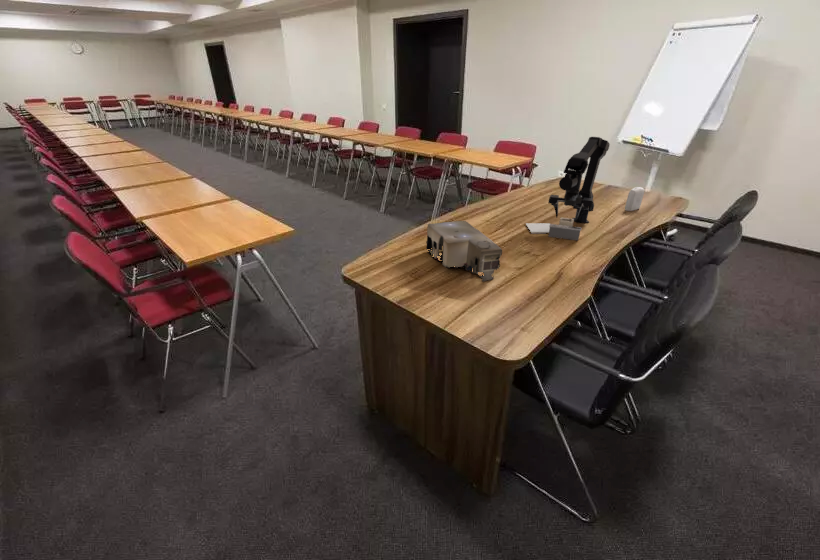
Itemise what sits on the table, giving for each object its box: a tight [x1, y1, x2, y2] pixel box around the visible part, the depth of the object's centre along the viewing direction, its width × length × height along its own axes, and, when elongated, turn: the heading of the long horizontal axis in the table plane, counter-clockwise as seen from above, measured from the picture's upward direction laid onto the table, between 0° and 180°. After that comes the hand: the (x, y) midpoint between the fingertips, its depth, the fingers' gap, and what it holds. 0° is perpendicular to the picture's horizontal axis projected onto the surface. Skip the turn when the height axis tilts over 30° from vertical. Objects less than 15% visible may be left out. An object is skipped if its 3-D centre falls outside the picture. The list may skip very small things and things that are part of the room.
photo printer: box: [624, 186, 645, 212], centre depth 209 cm, size 10×4×12 cm, turn 123°
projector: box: [425, 220, 503, 282], centre depth 149 cm, size 18×33×13 cm, turn 16°
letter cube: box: [558, 217, 575, 226], centre depth 181 cm, size 6×6×6 cm
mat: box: [525, 222, 551, 234], centre depth 186 cm, size 12×12×1 cm
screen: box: [548, 223, 582, 241], centre depth 174 cm, size 3×14×6 cm, turn 67°
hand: (567, 218), depth 179 cm, fingers open, 9 cm apart
